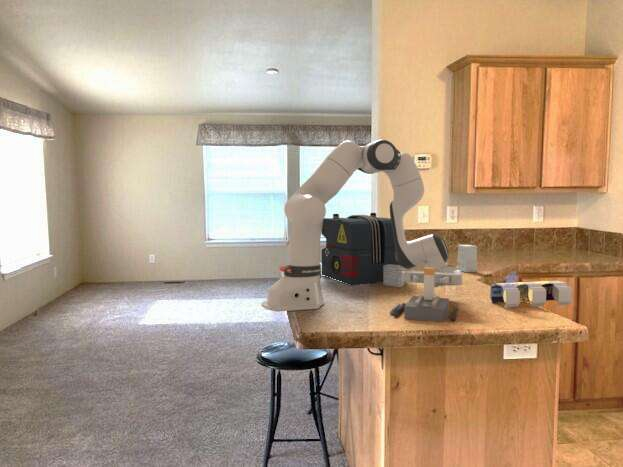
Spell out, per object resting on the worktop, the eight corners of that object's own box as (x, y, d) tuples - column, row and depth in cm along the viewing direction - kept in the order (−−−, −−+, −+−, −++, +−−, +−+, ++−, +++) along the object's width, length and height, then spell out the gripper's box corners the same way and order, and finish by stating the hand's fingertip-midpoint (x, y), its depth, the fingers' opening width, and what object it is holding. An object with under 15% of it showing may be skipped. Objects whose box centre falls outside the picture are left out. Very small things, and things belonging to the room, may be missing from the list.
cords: (454, 322, 148) (454, 317, 148) (387, 316, 156) (387, 312, 156) (458, 310, 163) (458, 306, 163) (397, 305, 170) (397, 301, 170)
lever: (433, 300, 160) (433, 269, 159) (423, 299, 161) (423, 268, 160) (434, 298, 163) (435, 267, 162) (424, 297, 164) (425, 267, 163)
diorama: (505, 309, 166) (506, 271, 165) (489, 303, 176) (490, 267, 175) (571, 306, 170) (572, 269, 169) (551, 300, 180) (553, 265, 179)
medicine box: (404, 286, 207) (404, 265, 207) (398, 287, 204) (398, 267, 203) (388, 283, 213) (389, 264, 212) (382, 285, 209) (383, 265, 209)
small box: (476, 272, 243) (477, 246, 242) (465, 272, 241) (465, 246, 240) (468, 269, 251) (468, 244, 250) (457, 270, 249) (457, 244, 248)
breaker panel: (443, 321, 149) (444, 305, 149) (404, 318, 154) (404, 302, 153) (448, 310, 164) (448, 295, 164) (412, 307, 168) (412, 293, 168)
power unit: (403, 280, 220) (404, 214, 218) (351, 286, 208) (351, 215, 206) (369, 271, 245) (370, 212, 243) (321, 276, 233) (320, 213, 231)
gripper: (405, 264, 177) (397, 269, 164) (463, 266, 170) (461, 272, 157) (404, 281, 178) (397, 288, 165) (463, 284, 170) (460, 292, 157)
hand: (429, 280), depth 161 cm, fingers open, 7 cm apart
